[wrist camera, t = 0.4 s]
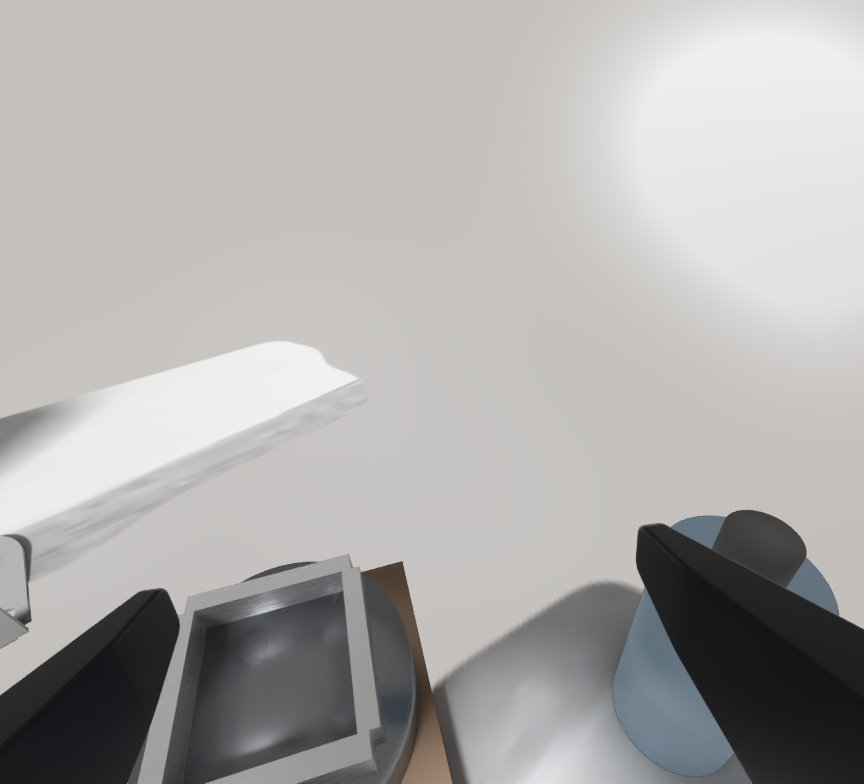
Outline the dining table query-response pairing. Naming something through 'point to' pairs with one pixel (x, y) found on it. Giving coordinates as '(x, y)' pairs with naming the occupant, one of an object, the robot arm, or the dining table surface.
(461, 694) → the dining table surface
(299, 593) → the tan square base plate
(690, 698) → the blue capped bottle
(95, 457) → the dining table surface
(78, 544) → the dining table surface
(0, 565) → the bracket
